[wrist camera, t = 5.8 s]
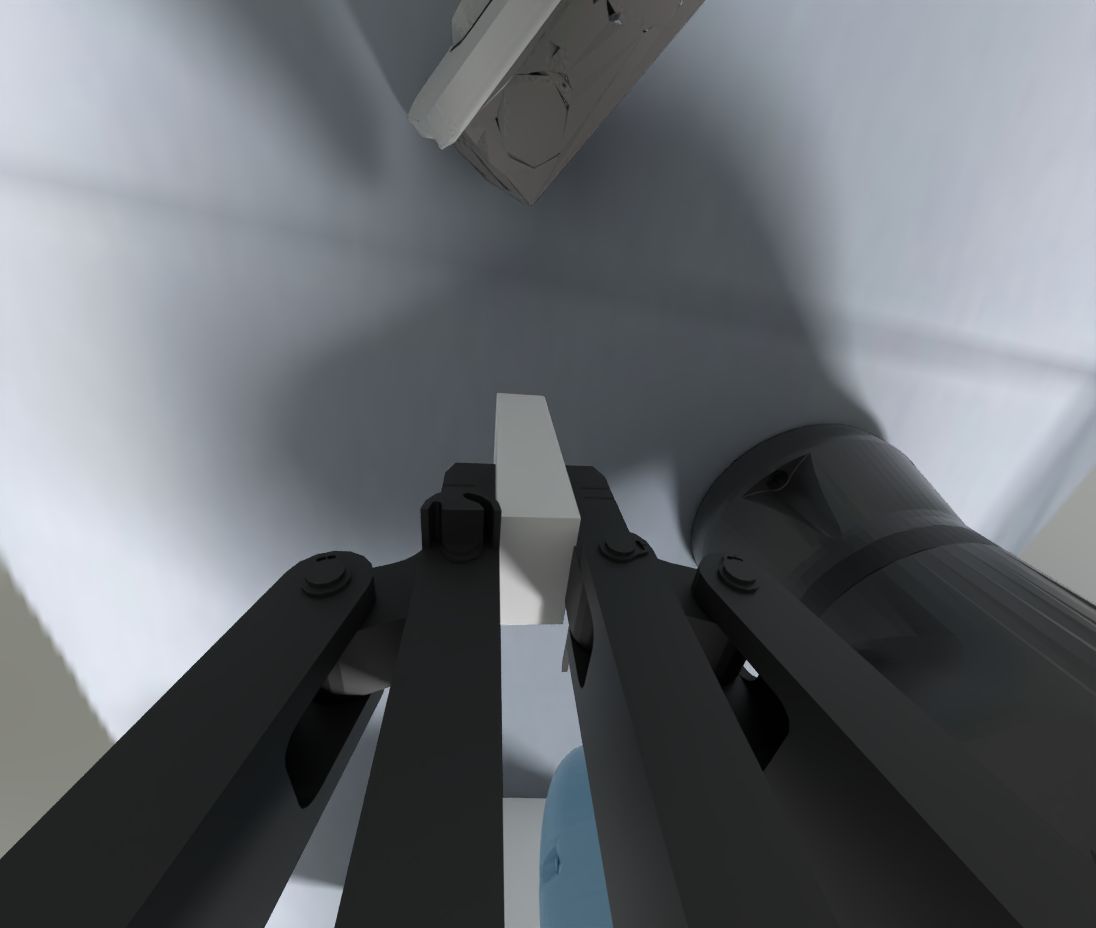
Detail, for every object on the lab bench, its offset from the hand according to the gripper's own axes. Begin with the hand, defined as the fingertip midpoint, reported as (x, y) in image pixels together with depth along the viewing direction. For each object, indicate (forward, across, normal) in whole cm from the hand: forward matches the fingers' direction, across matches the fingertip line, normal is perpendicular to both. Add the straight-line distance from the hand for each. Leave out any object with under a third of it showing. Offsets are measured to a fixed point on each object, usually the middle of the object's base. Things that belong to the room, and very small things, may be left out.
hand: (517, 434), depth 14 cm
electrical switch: (+11, 0, -12) cm, 16 cm away
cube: (+11, -1, +60) cm, 61 cm away
